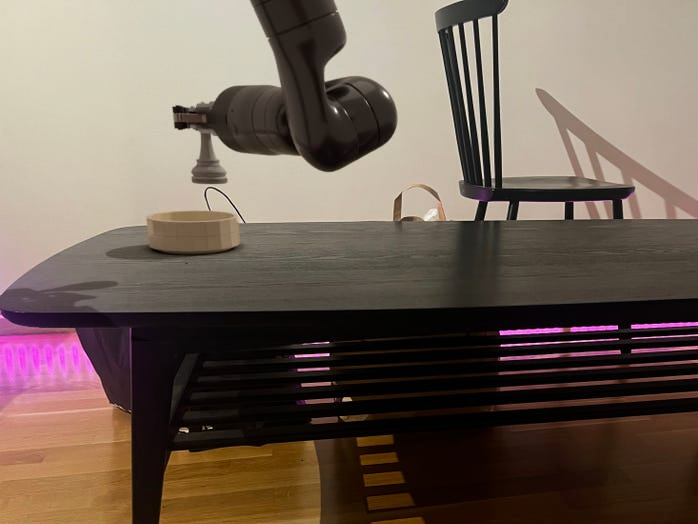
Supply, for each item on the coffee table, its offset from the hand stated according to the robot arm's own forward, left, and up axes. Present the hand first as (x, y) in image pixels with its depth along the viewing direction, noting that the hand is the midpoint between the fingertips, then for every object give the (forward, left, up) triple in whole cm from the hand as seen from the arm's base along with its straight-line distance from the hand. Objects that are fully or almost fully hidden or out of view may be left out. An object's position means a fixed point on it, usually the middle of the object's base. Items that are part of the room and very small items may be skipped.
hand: (193, 117), depth 91 cm
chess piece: (0, -3, -8) cm, 9 cm away
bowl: (+5, +15, -20) cm, 25 cm away
